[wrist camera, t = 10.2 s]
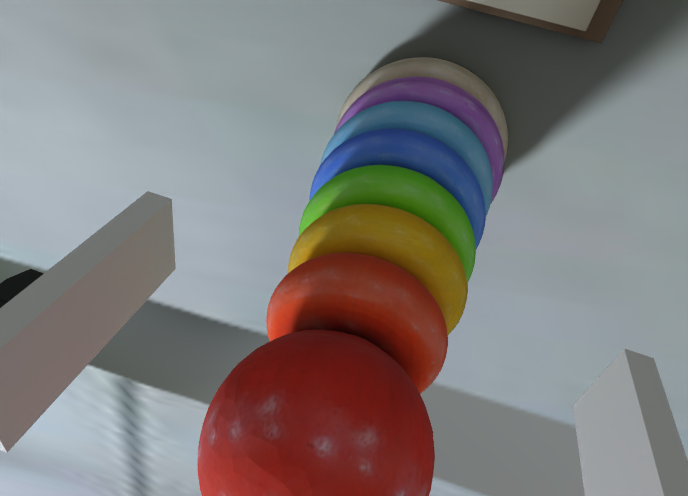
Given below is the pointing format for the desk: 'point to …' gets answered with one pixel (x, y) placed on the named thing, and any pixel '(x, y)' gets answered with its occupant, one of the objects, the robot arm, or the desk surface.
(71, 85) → the desk surface
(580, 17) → the board
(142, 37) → the desk surface
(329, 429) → the stacking toy
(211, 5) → the desk surface
